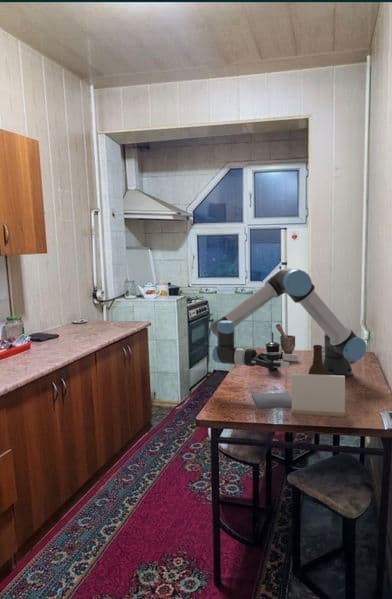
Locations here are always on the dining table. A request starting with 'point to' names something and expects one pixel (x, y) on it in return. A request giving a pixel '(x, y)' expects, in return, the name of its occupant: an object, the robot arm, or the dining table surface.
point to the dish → (322, 353)
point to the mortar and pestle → (286, 341)
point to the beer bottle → (317, 362)
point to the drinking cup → (272, 350)
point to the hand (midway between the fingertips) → (293, 361)
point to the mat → (272, 400)
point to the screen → (318, 394)
